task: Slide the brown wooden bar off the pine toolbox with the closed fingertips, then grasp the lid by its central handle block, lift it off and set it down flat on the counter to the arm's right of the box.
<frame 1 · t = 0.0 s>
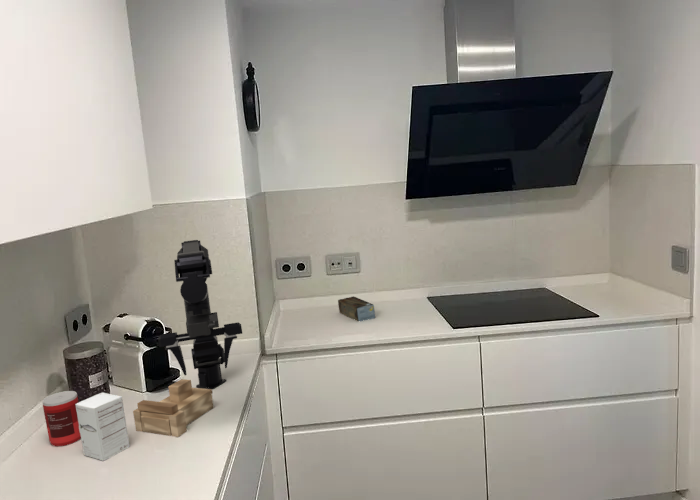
hand: (205, 371, 129), 15 cm above the counter, tool pointing down, fingers open, 9 cm apart
canned food: (67, 440, 136), on the counter
supplement box: (107, 452, 128), on the counter
brown wooden bar: (157, 407, 135), point 6 cm above the counter, slide at 0.0 cm
beverage carton: (356, 316, 228), on the counter
lid: (178, 404, 141), point 4 cm above the counter, touching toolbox
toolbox: (179, 419, 141), on the counter
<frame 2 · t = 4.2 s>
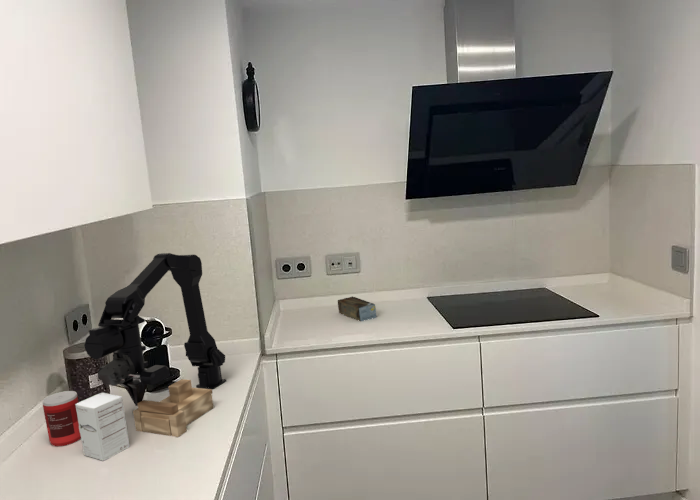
hand: (138, 405, 138), 6 cm above the counter, tool pointing down, fingers closed
brown wooden bar: (157, 407, 135), point 6 cm above the counter, slide at 0.0 cm, touching gripper
everything else where it was.
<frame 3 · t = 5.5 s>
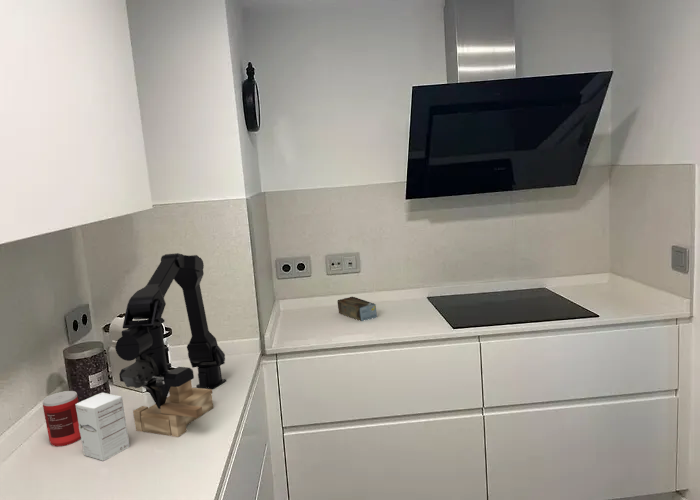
hand: (161, 408, 134), 6 cm above the counter, tool pointing down, fingers closed
brown wooden bar: (181, 409, 132), point 6 cm above the counter, slide at 7.5 cm, touching gripper
everything else where it was.
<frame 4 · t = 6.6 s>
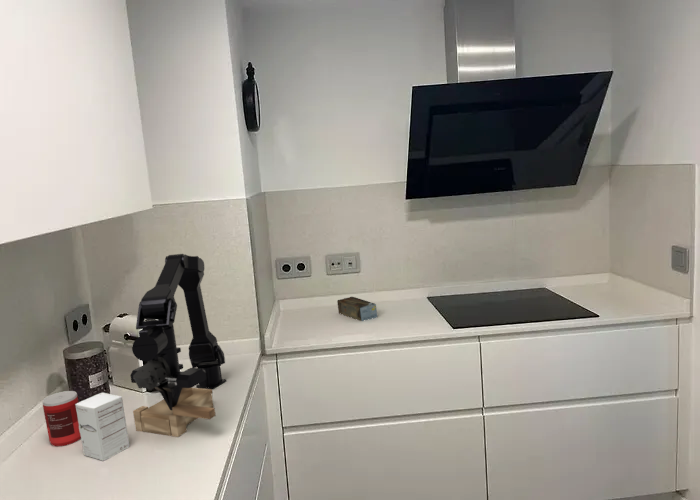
hand: (172, 409, 133), 6 cm above the counter, tool pointing down, fingers closed
brown wooden bar: (193, 411, 130), point 6 cm above the counter, slide at 11.2 cm, touching gripper
everything else where it was.
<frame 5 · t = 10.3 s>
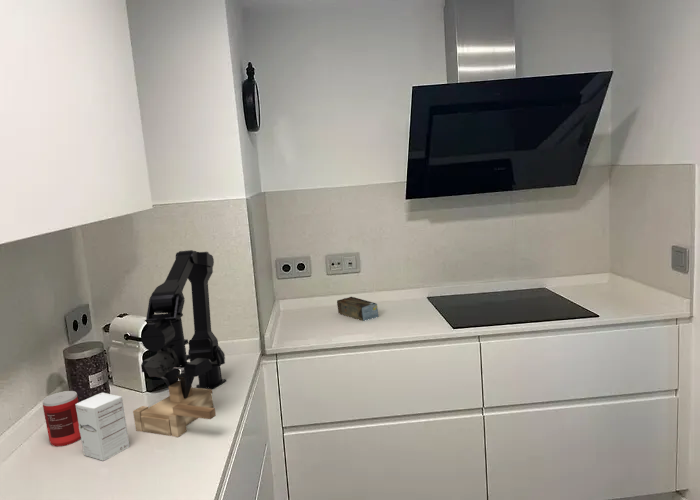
hand: (180, 397, 142), 5 cm above the counter, tool pointing down, fingers closed on lid, 3 cm apart
brown wooden bar: (193, 411, 130), point 6 cm above the counter, slide at 11.3 cm
lid: (178, 404, 141), point 4 cm above the counter, touching gripper, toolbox
everything else where it was.
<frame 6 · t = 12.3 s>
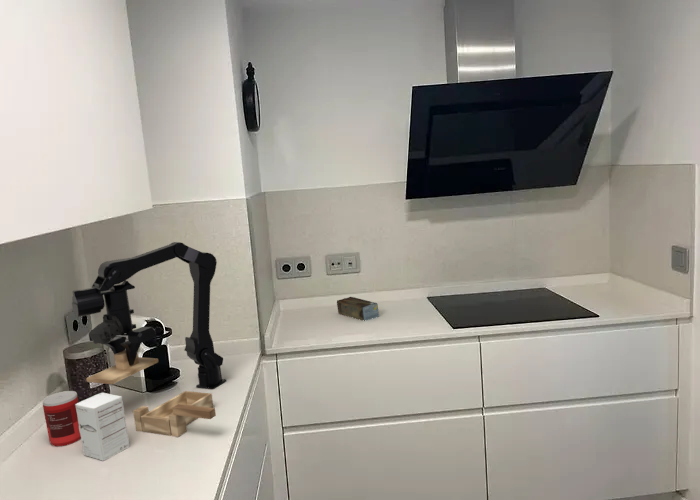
hand: (126, 364, 148), 13 cm above the counter, tool pointing down, fingers closed on lid, 3 cm apart
lid: (124, 371, 147), point 12 cm above the counter, touching gripper
when the fingers open (3 cm above the counter, at t = 14.3 s): lid drops 3 cm, on the counter.
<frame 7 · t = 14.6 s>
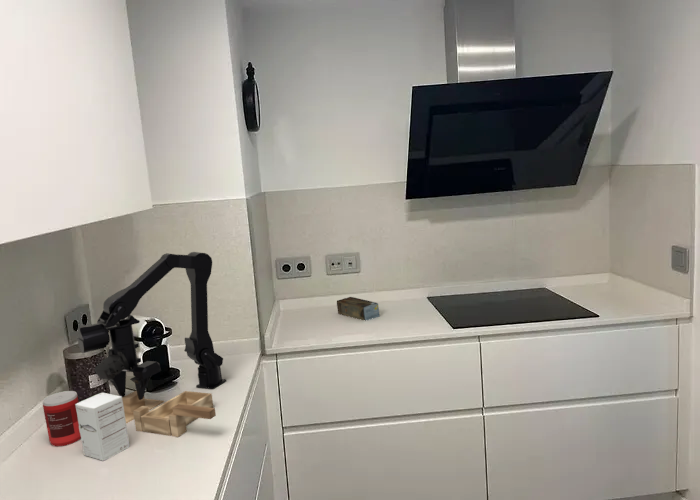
hand: (131, 398, 150), 3 cm above the counter, tool pointing down, fingers open, 6 cm apart
lid: (130, 414, 149), on the counter
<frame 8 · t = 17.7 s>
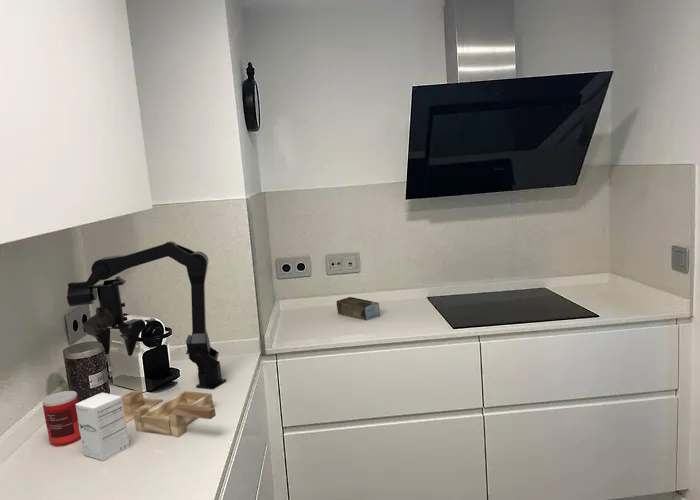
hand: (118, 354, 159), 13 cm above the counter, tool pointing down, fingers open, 9 cm apart
at the end: brown wooden bar slide at 11.3 cm; lid inside the target area (0.6 cm from its centre), on the counter; lid tilted 0° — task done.
